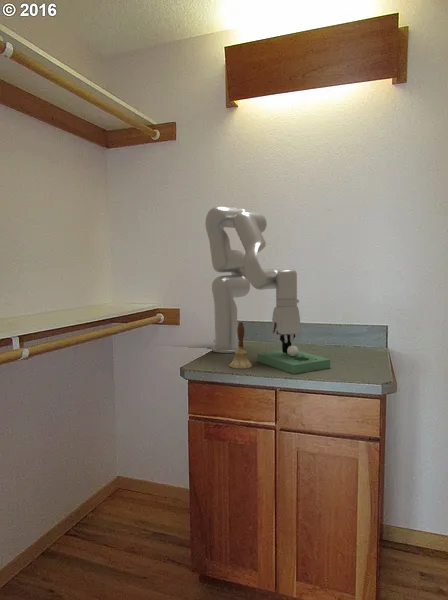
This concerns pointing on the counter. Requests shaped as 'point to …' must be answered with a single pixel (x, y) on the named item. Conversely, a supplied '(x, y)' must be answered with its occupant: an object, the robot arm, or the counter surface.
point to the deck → (293, 361)
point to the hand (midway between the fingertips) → (286, 352)
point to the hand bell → (240, 352)
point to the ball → (292, 351)
